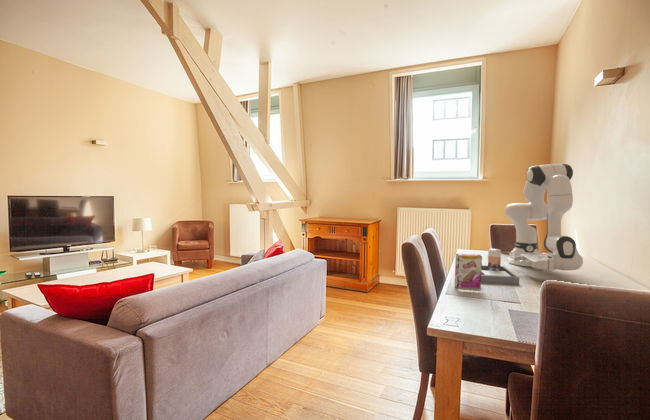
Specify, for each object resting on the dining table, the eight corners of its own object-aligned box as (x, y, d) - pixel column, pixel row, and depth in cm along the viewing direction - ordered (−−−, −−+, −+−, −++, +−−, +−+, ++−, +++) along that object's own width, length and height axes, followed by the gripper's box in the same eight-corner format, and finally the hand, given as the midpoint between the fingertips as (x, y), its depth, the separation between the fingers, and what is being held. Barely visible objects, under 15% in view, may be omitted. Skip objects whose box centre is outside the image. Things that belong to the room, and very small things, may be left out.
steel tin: (486, 273, 185) (486, 248, 184) (498, 273, 184) (498, 248, 183) (489, 276, 179) (490, 250, 178) (501, 276, 178) (502, 250, 177)
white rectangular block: (480, 276, 178) (480, 270, 178) (504, 277, 175) (504, 271, 175) (485, 281, 168) (485, 274, 168) (510, 283, 166) (511, 276, 165)
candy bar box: (457, 289, 160) (458, 255, 159) (454, 285, 165) (455, 253, 164) (481, 289, 159) (482, 255, 158) (477, 286, 164) (478, 253, 163)
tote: (469, 272, 190) (469, 264, 190) (503, 274, 187) (503, 266, 186) (479, 284, 167) (479, 275, 167) (518, 286, 163) (519, 277, 163)
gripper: (537, 251, 185) (510, 250, 188) (554, 259, 165) (523, 258, 168) (537, 262, 186) (510, 261, 189) (554, 271, 166) (523, 270, 169)
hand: (516, 260), depth 178 cm, fingers open, 8 cm apart
